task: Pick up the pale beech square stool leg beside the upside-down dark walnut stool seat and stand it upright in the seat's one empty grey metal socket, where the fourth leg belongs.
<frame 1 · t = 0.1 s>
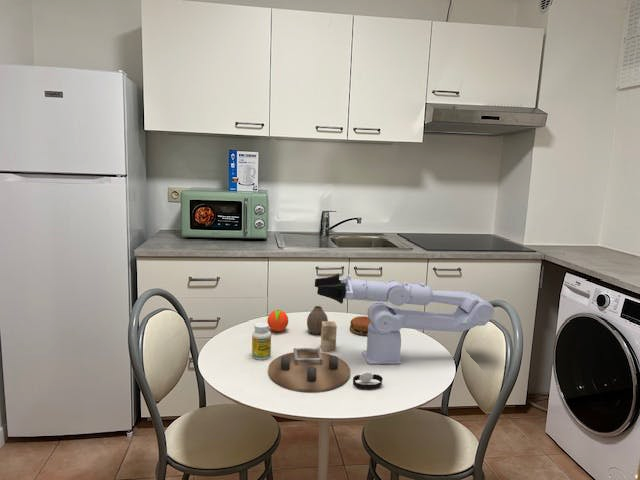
hand: (316, 286, 130), 22 cm above the table, tool horizontal, fingers open, 7 cm apart
stool seat: (309, 371, 126), on the table
watch: (367, 387, 120), on the table
supplement bottle: (261, 357, 134), on the table
stool leg: (327, 348, 141), on the table
vase: (317, 333, 154), on the table
clementine: (277, 331, 153), on the table
burger: (363, 332, 157), on the table
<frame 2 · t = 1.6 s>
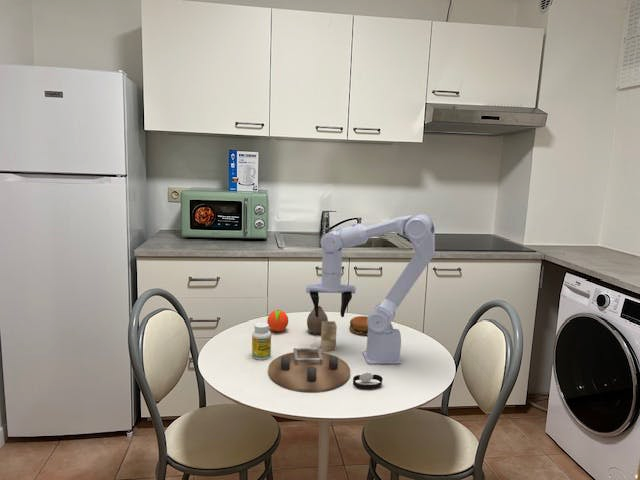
hand: (329, 315, 139), 10 cm above the table, tool pointing down, fingers open, 7 cm apart
nothing on the table moved.
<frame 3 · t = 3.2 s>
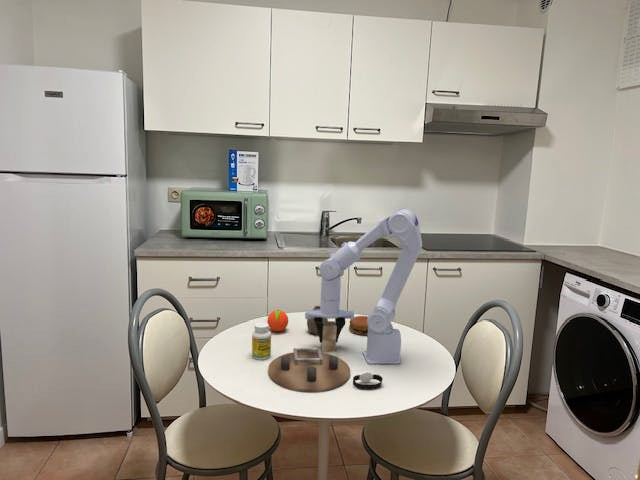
hand: (328, 341, 141), 2 cm above the table, tool pointing down, fingers closed on stool leg, 4 cm apart
stool leg: (327, 348, 141), on the table, touching gripper
everything else where it was.
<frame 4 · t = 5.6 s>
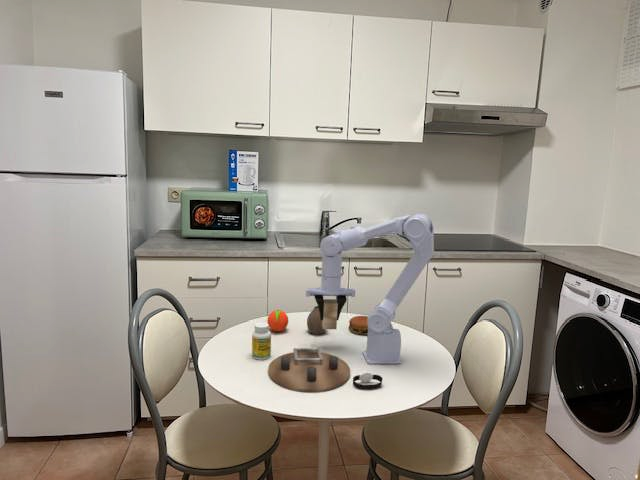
hand: (329, 319, 140), 9 cm above the table, tool pointing down, fingers closed on stool leg, 4 cm apart
stool leg: (328, 326, 140), point 7 cm above the table, touching gripper
everything else where it was.
when the fingers open (4 cm above the table, at t = 8.3 s): stool leg stays where it is, resting on stool seat.
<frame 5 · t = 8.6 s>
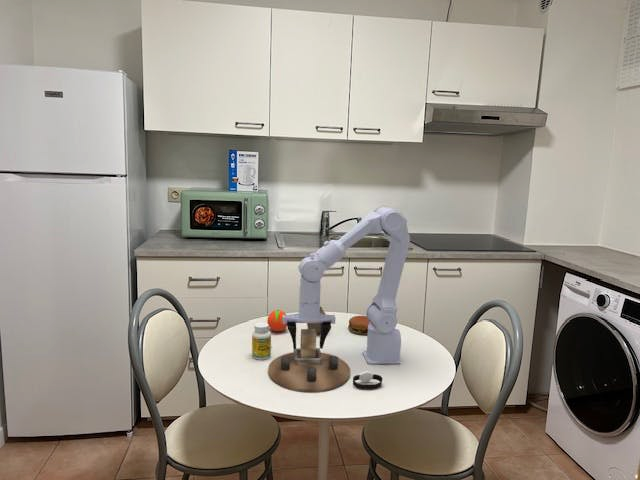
hand: (307, 347, 131), 4 cm above the table, tool pointing down, fingers open, 7 cm apart
stool leg: (307, 358, 132), point 1 cm above the table, touching stool seat
everything else where it was.
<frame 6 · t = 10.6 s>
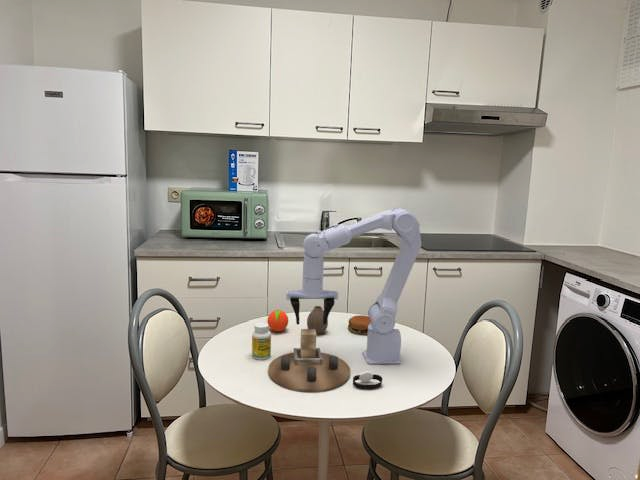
hand: (311, 323, 133), 10 cm above the table, tool pointing down, fingers open, 7 cm apart
nothing on the table moved.
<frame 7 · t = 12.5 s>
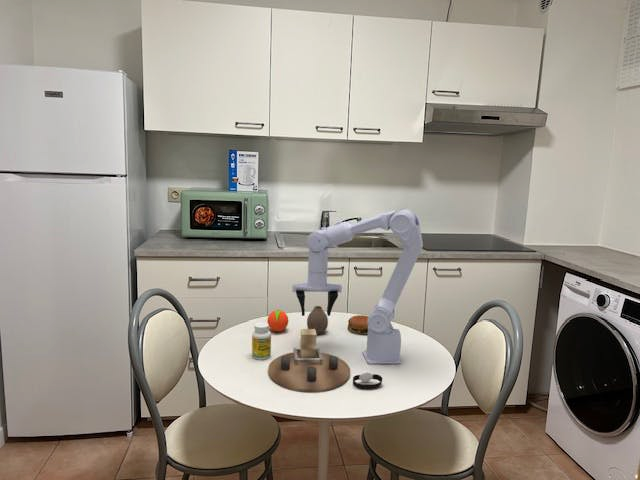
hand: (315, 314, 140), 10 cm above the table, tool pointing down, fingers open, 7 cm apart
at the end: stool leg 0.0 cm from the target spot on the stool seat, point 1.0 cm above the stool seat's base; stool leg tilted 0°; the gripper is holding nothing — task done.
